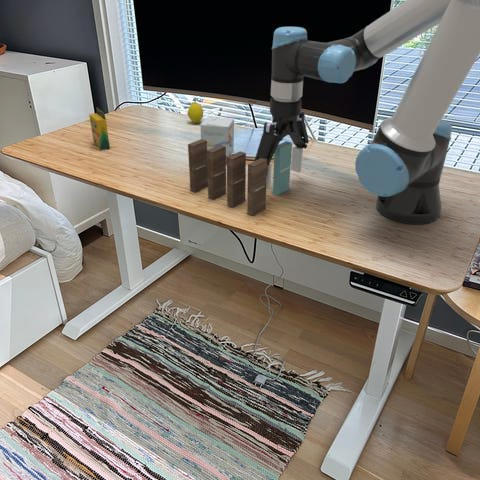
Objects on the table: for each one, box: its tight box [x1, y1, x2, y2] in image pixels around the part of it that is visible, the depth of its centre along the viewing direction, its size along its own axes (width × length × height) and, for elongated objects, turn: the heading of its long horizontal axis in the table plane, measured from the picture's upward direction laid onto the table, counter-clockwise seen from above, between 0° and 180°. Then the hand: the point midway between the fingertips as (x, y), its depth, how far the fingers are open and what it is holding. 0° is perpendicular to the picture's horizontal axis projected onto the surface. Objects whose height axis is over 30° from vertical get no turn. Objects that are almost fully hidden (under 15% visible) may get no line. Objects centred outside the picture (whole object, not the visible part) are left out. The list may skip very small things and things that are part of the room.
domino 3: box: [226, 151, 247, 209], centre depth 120 cm, size 2×5×13 cm, turn 140°
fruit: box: [187, 101, 204, 124], centre depth 174 cm, size 6×6×8 cm
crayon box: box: [88, 107, 111, 151], centre depth 153 cm, size 7×3×12 cm, turn 33°
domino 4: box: [246, 158, 267, 217], centre depth 116 cm, size 2×5×13 cm, turn 140°
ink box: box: [199, 115, 235, 165], centre depth 145 cm, size 9×9×12 cm
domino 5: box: [272, 140, 293, 196], centre depth 126 cm, size 2×5×13 cm, turn 140°
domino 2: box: [207, 145, 227, 201], centre depth 123 cm, size 2×5×13 cm, turn 140°
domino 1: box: [187, 138, 208, 193], centre depth 127 cm, size 2×5×13 cm, turn 140°
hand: (281, 178), depth 127 cm, fingers open, 13 cm apart
